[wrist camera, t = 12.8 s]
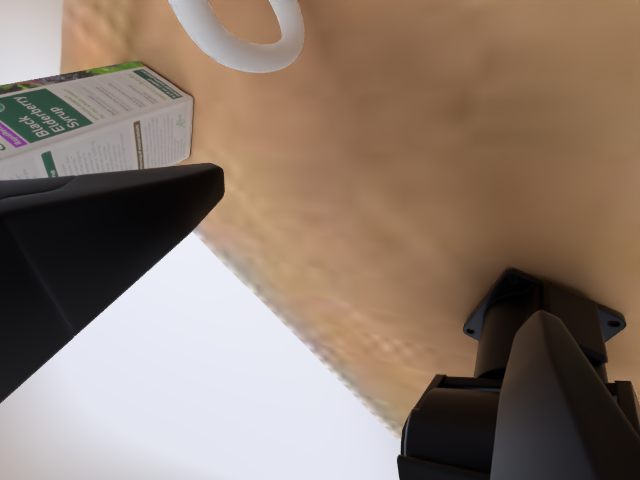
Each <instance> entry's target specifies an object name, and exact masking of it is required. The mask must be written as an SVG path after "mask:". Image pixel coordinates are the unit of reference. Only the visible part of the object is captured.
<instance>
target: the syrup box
mask: <svg viewBox="0 0 640 480" xmlns="http://www.w3.org/2000/svg"><path fill="white" fill-rule="evenodd" d="M192 118H193V97H191V96H190V95H188V94H185V93H184V92H183V91H181V90H180V89H178V88H177V87H175V86H174V85H173V84H171V83H170V82H168V81H167V80H165V79H164V78H162V77H161V76H159V75H158V74H156V73H155V72H153V71H152V70H150V69H149V68H147V67H146V66H144V65H143V64H141V63H140V62H138V61H133V62H128V63H123V64H118V65H112V66H106V67H100V68H94V69H89V70H84V71H79V72H73V73H68V74H61V75H56V76H51V77H45V78H39V79H34V80H29V81H23V82H17V83H12V84H6V85H1V86H0V180H18V179H35V178H48V177H60V176H71V175H76V176H77V175H82V174H93V173H104V172H115V171H126V170H136V169H147V168H158V167H169V166H173V165H175V164H177V163H179V162H181V161H183V160H185V159H187V158H188V157H189V155H190V147H191V135H192Z"/></svg>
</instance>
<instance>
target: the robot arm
mask: <svg viewBox="0 0 640 480" xmlns="http://www.w3.org/2000/svg"><path fill="white" fill-rule="evenodd" d="M224 192H225V187H224V171H223V169H222V168H221V167H219V166H217V165H215V164H212V163H202V164H191V165H180V166H169V167H158V168H147V169H136V170H126V171H115V172H104V173H93V174H82V175H77V176H76V175H71V176H60V177H48V178H35V179H18V180H0V403H1V402H2V401H4V400H5V399H6V398H7V397H8V396H9V395H10V394H11V393H12V392H14V391H15V390H16V389H17V388H18V387H19V386H20V385H21V384H23V383H24V382H25V381H26V380H27V379H28V378H29V377H30V376H31V375H33V374H34V373H35V372H36V371H37V370H38V369H39V368H40V367H41V366H42V365H44V364H45V363H46V362H47V361H48V360H49V359H50V358H52V357H53V356H54V355H55V354H56V353H57V352H58V351H59V350H60V349H62V348H63V347H64V346H65V345H66V344H67V343H68V342H69V341H71V340H72V339H73V338H74V336H76V335H77V334H78V333H79V332H80V331H81V330H82V329H84V328H85V327H86V326H87V325H88V324H89V323H90V322H91V321H93V320H94V319H95V318H96V317H97V316H98V315H99V314H100V313H102V312H103V311H104V310H105V309H106V308H107V307H108V306H109V305H110V304H112V303H113V302H114V301H115V300H116V299H117V298H118V297H119V296H121V295H122V294H123V293H124V292H125V291H126V290H127V289H128V288H129V287H131V286H132V285H133V284H134V283H135V282H136V281H137V280H138V279H139V278H140V277H142V276H143V275H144V274H145V273H146V272H147V271H149V270H150V269H151V268H152V267H153V266H154V265H155V264H156V263H157V262H159V261H160V260H161V259H162V258H163V257H164V256H165V255H166V254H167V253H169V252H170V251H171V250H172V249H173V248H174V247H175V246H176V245H177V244H179V243H180V242H181V241H182V240H183V239H184V238H185V237H186V236H188V235H189V234H190V233H191V232H192V231H193V230H194V229H195V228H196V227H197V226H198V224H199V223H200V222H201V221H202V220H203V219H204V218H205V217H206V216H207V215H208V213H209V212H210V211H211V210H212V209H213V208H214V207H215V206H216V205H217V203H218V202H219V201H220V200H221V199H222V198H223V196H224ZM510 276H512V277H515V279H510V278H508V277H510ZM612 320H615V321H617V322H609V321H612ZM625 327H626V321H625V318H624V317H623V315H621V314H619V313H617V312H615V311H612V310H610V309H608V308H605V307H603V306H600V305H598V304H596V303H595V302H594V301H591V300H589V299H587V298H584V297H582V296H580V295H577V294H575V293H572V292H570V291H568V290H565V289H563V288H561V287H558V286H556V285H553V284H551V283H546V282H544V281H541V280H539V279H536V278H534V277H532V276H529V275H527V274H525V273H522V272H520V271H517V270H514V269H508V270H506V271H504V272H503V274H502V275H501V276H500V278H499V279H498V280H497V282H496V283H495V284H494V286H493V287H492V288H491V290H490V291H489V292H488V294H487V295H486V296H485V297H484V299H483V300H482V301H481V303H480V304H479V305H478V307H477V308H476V309H475V311H474V312H473V313H472V315H471V316H470V317H469V319H468V320H467V321H466V323H465V324H464V327H463V332H464V333H465V334H466V335H468V336H470V337H472V338H474V339H476V340H478V341H479V347H478V353H477V359H476V365H475V371H474V378H473V377H448V376H447V375H441V374H436V376H435V377H434V379H433V380H432V382H431V383H430V385H429V386H428V388H427V389H426V391H425V392H424V394H423V395H422V397H421V398H420V400H419V401H418V403H417V404H416V406H415V407H414V409H412V411H411V412H410V414H409V416H408V418H407V420H406V422H405V425H404V427H403V429H402V439H401V455H398V458H397V464H398V472H399V479H400V480H640V405H639V402H638V399H637V397H636V394H635V391H634V388H633V385H632V383H631V381H615V383H608V378H607V372H606V367H605V364H606V363H607V362H608V357H607V352H606V347H605V342H607V341H608V340H609V339H611V338H612V337H613V336H614V335H616V334H617V333H618V332H620V331H621V330H622V329H624V328H625ZM470 329H473V330H470Z"/></svg>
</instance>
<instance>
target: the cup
mask: <svg viewBox="0 0 640 480" xmlns="http://www.w3.org/2000/svg"><path fill="white" fill-rule="evenodd" d="M168 1H169V3H170V5H171V7H172V9H173V11H174V13H175V14H176V16H177V18H178V19H179V21H180V23H181V24H182V26H183V27H184V29H185V30H186V32H187V33H188V35H189V36H190V37H191V39H192V40H193V41H194V42H195V43H196V45H197V46H198V47H199V48H200V49H201V50H202V51H203V52H205V53H206V54H207V55H208V56H209V57H211V58H212V59H214V60H215V61H216V62H218V63H220V64H222V65H224V66H226V67H229V68H232V69H235V70H239V71H244V72H251V73H268V72H274V71H278V70H281V69H283V68H286V67H288V66H289V65H291V64H292V63H293V62H294V61H295V60H296V59H297V58H298V57H299V55H300V53H301V51H302V48H303V45H304V40H305V29H304V22H303V18H302V14H301V10H300V7H299V3H298V1H297V0H269V2H270V4H271V6H272V8H273V10H274V12H275V14H276V16H277V18H278V21H279V24H280V27H281V33H282V38H281V40H279V41H278V42H276V43H273V44H255V43H251V42H247V41H244V40H242V39H239V38H238V37H236V36H234V35H232V34H231V33H230V32H228V31H227V30H226V29H225V28H224V27H223V25H222V24H221V23H220V21H219V20H218V18H217V16H216V15H215V13H214V11H213V9H212V7H211V5H210V3H209V1H208V0H168Z"/></svg>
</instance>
